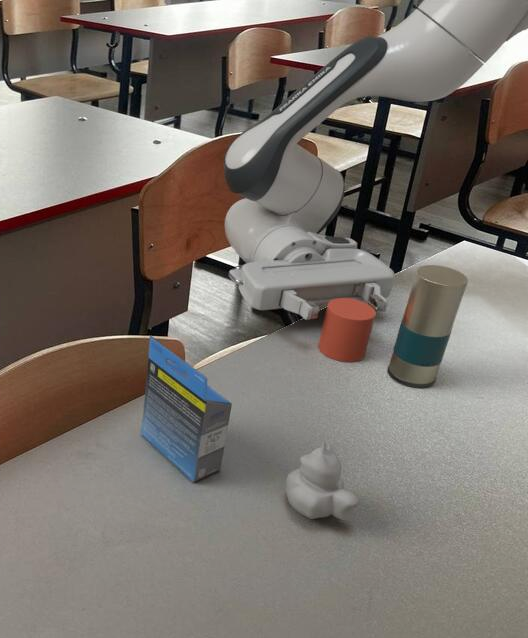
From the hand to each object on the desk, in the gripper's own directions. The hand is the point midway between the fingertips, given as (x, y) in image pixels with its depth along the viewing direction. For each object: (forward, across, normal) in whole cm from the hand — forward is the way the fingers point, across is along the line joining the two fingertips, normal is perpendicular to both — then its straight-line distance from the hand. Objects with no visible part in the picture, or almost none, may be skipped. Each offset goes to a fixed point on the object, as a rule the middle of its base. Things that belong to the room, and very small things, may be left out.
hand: (347, 310), depth 94 cm
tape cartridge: (+15, -28, +6) cm, 32 cm away
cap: (+1, 0, +5) cm, 5 cm away
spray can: (+8, +5, +5) cm, 11 cm away
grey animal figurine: (+26, -18, +6) cm, 32 cm away
